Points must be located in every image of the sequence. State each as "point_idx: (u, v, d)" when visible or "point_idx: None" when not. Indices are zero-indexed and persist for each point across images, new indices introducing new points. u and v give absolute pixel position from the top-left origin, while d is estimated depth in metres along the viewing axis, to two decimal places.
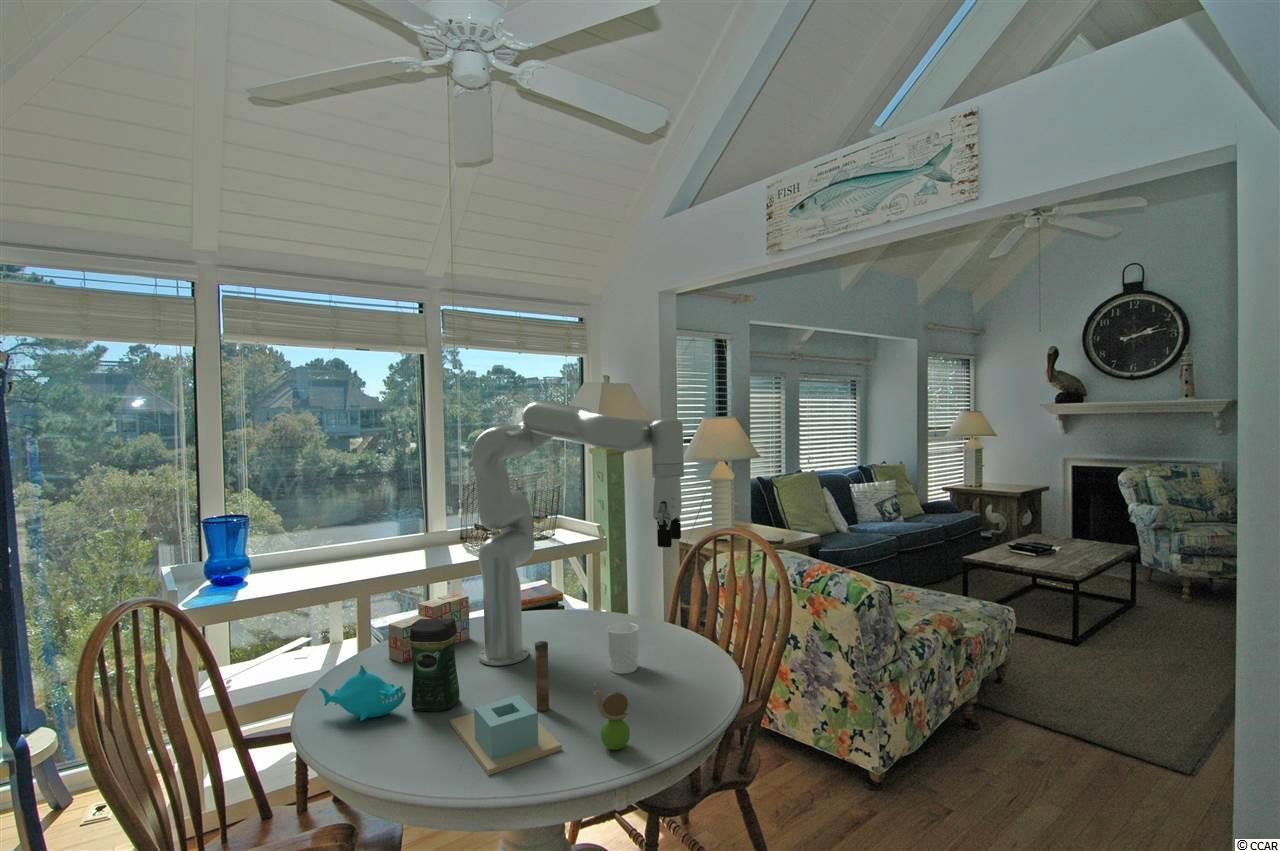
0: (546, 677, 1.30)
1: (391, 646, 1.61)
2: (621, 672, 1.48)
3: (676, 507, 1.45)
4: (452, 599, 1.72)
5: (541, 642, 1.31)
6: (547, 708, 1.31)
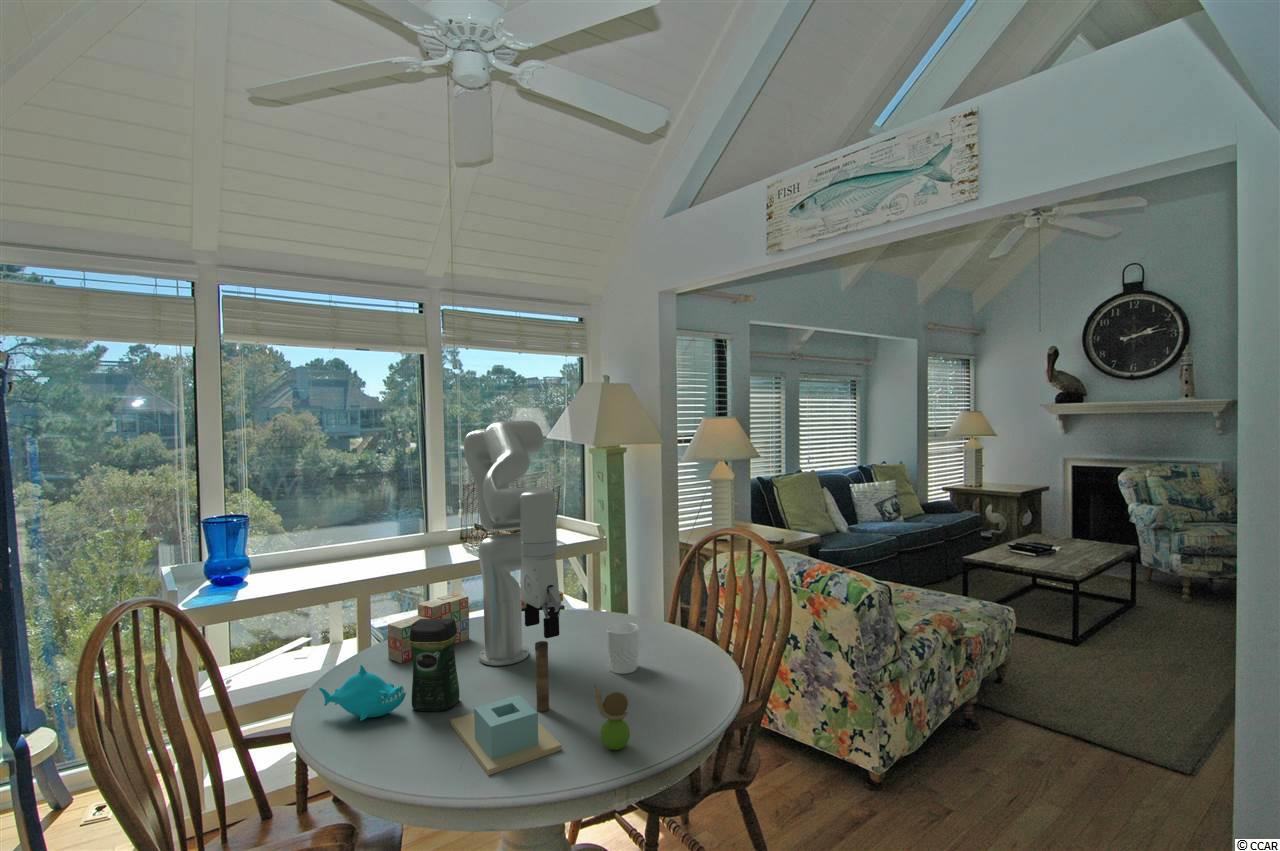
0: (546, 677, 1.30)
1: (390, 646, 1.61)
2: (621, 672, 1.48)
3: None
4: (452, 599, 1.72)
5: (541, 642, 1.31)
6: (547, 708, 1.31)
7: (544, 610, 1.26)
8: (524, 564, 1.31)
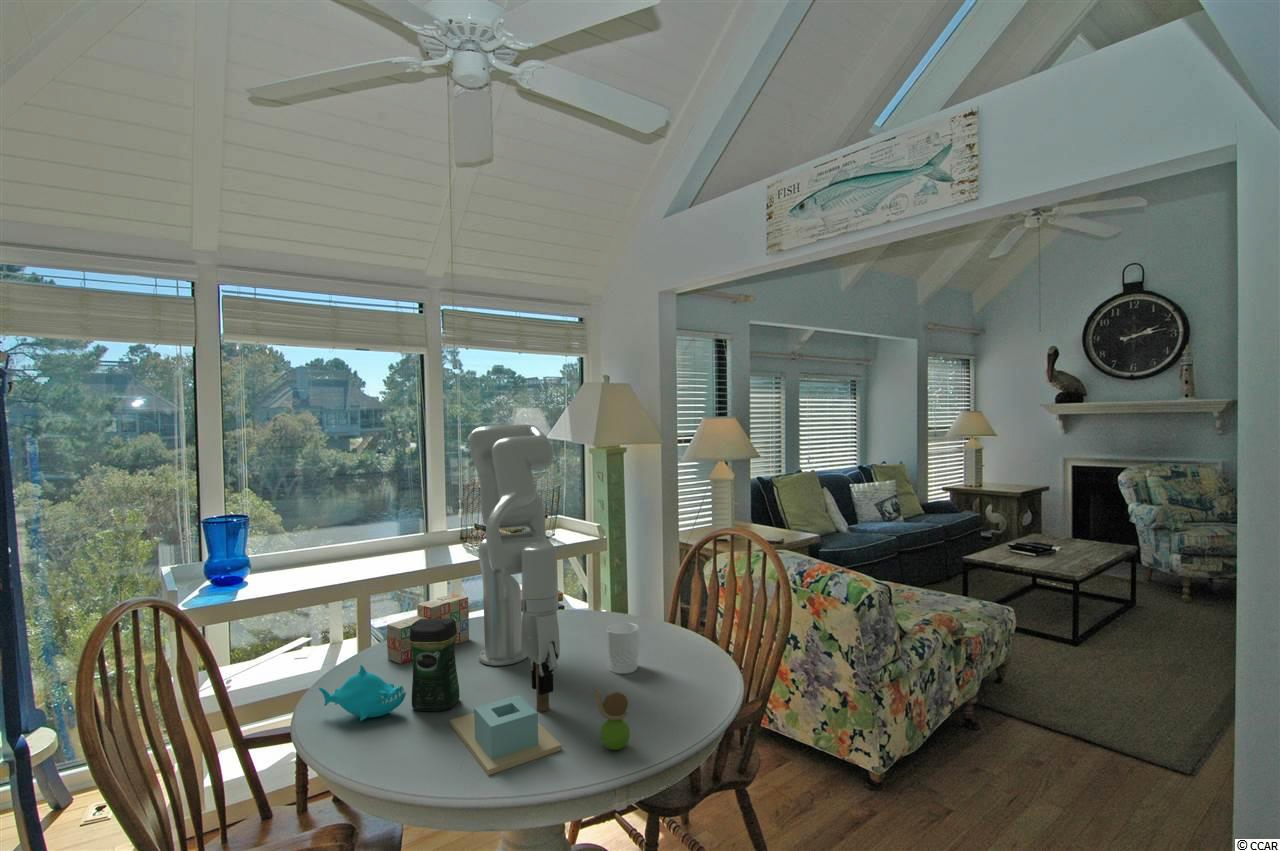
0: None
1: (390, 647, 1.61)
2: (621, 672, 1.48)
3: None
4: (451, 600, 1.72)
5: None
6: (547, 708, 1.31)
7: (540, 667, 1.29)
8: (525, 618, 1.31)
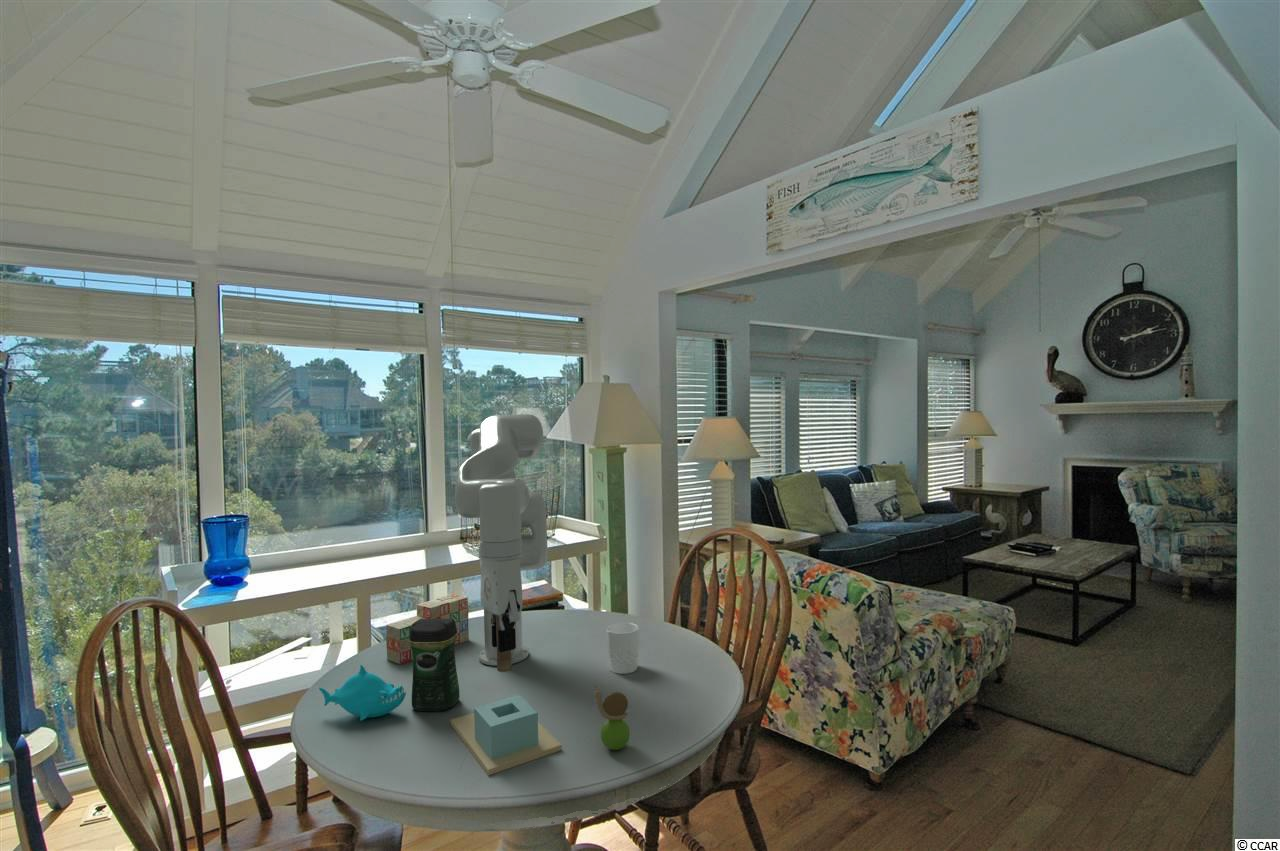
0: None
1: (389, 647, 1.60)
2: (621, 672, 1.48)
3: None
4: (451, 600, 1.71)
5: None
6: (509, 667, 1.15)
7: (500, 620, 1.13)
8: (484, 566, 1.16)
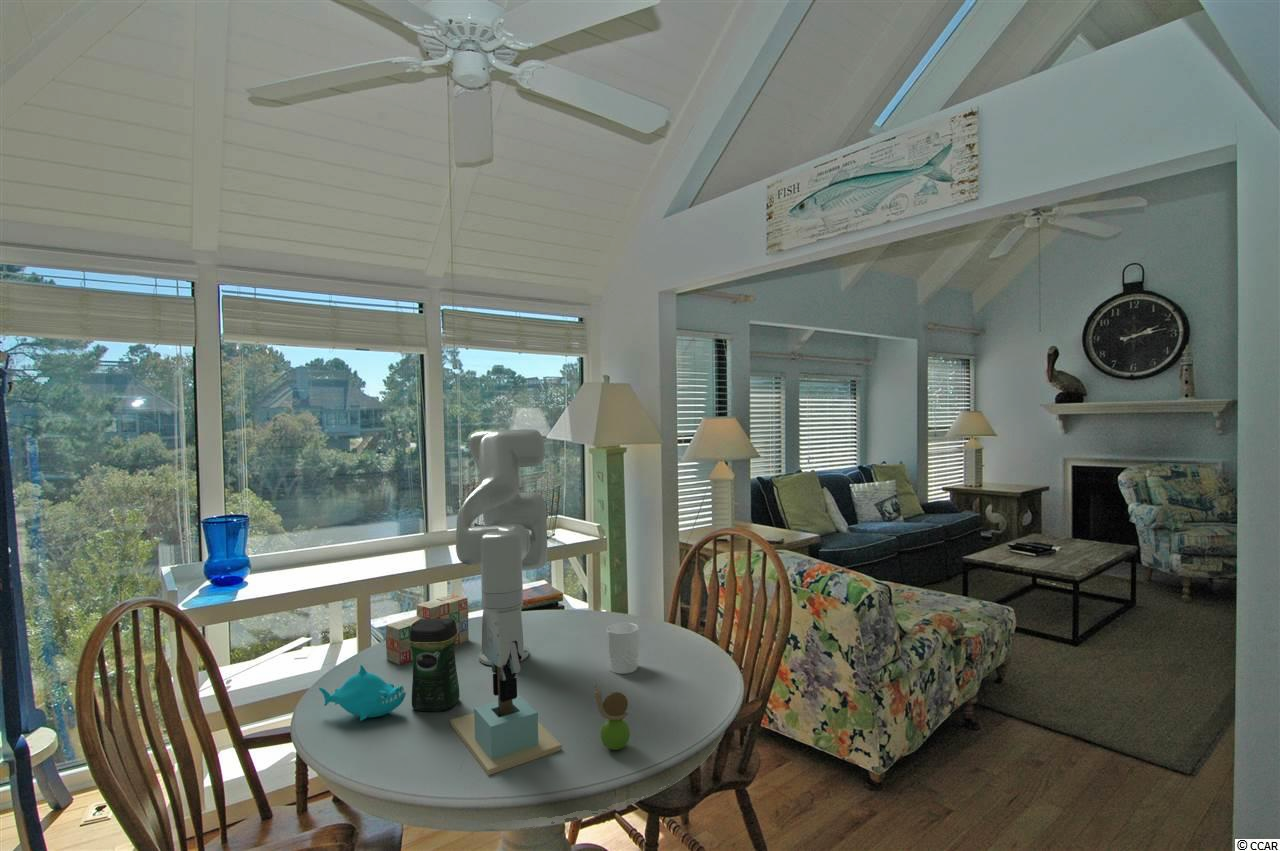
0: None
1: (388, 647, 1.60)
2: (621, 672, 1.48)
3: None
4: (451, 600, 1.71)
5: None
6: None
7: (501, 670, 1.13)
8: (485, 615, 1.16)
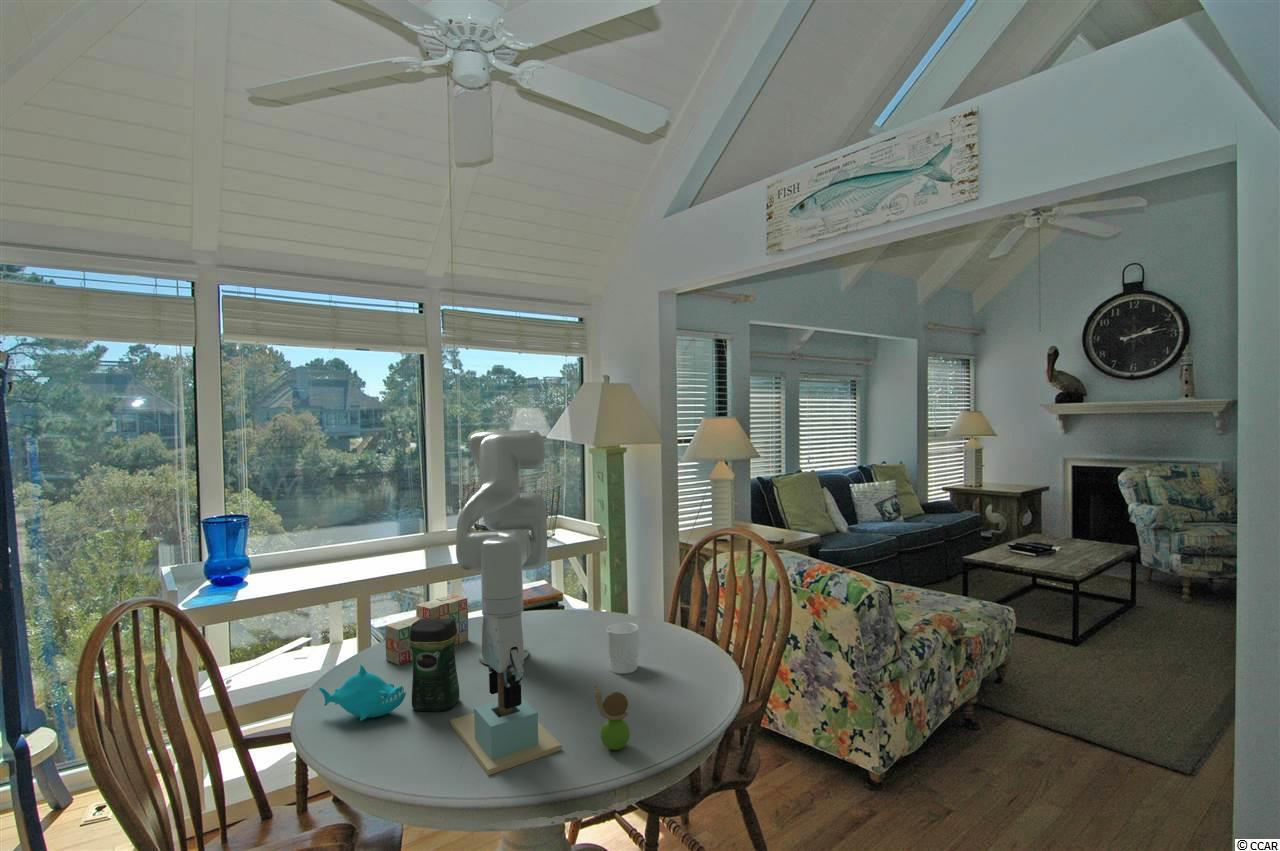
0: None
1: (388, 648, 1.60)
2: (621, 672, 1.48)
3: None
4: (450, 601, 1.71)
5: None
6: None
7: (505, 677, 1.12)
8: (485, 620, 1.16)
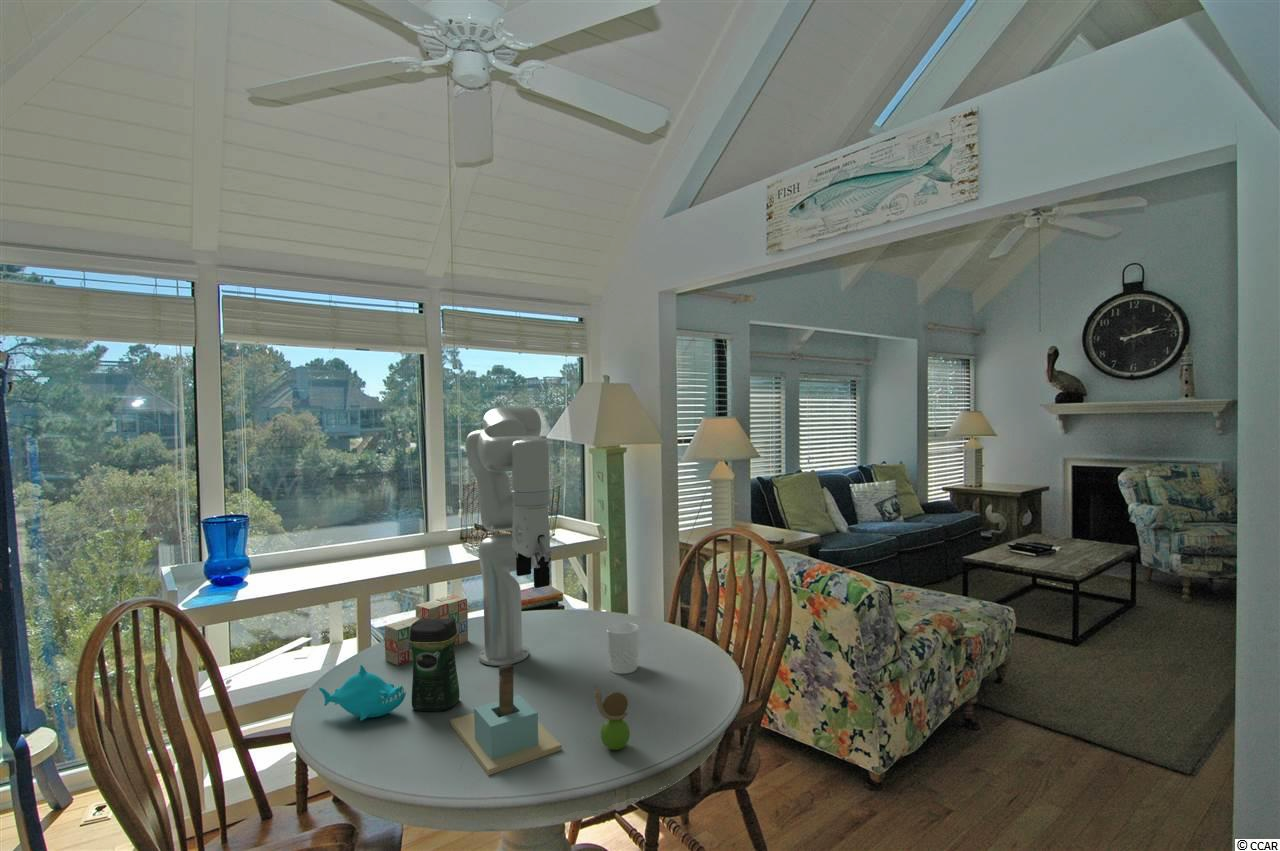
0: (510, 705, 1.16)
1: (387, 648, 1.60)
2: (621, 672, 1.48)
3: None
4: (450, 601, 1.70)
5: (507, 666, 1.16)
6: None
7: (534, 560, 1.24)
8: (515, 513, 1.28)
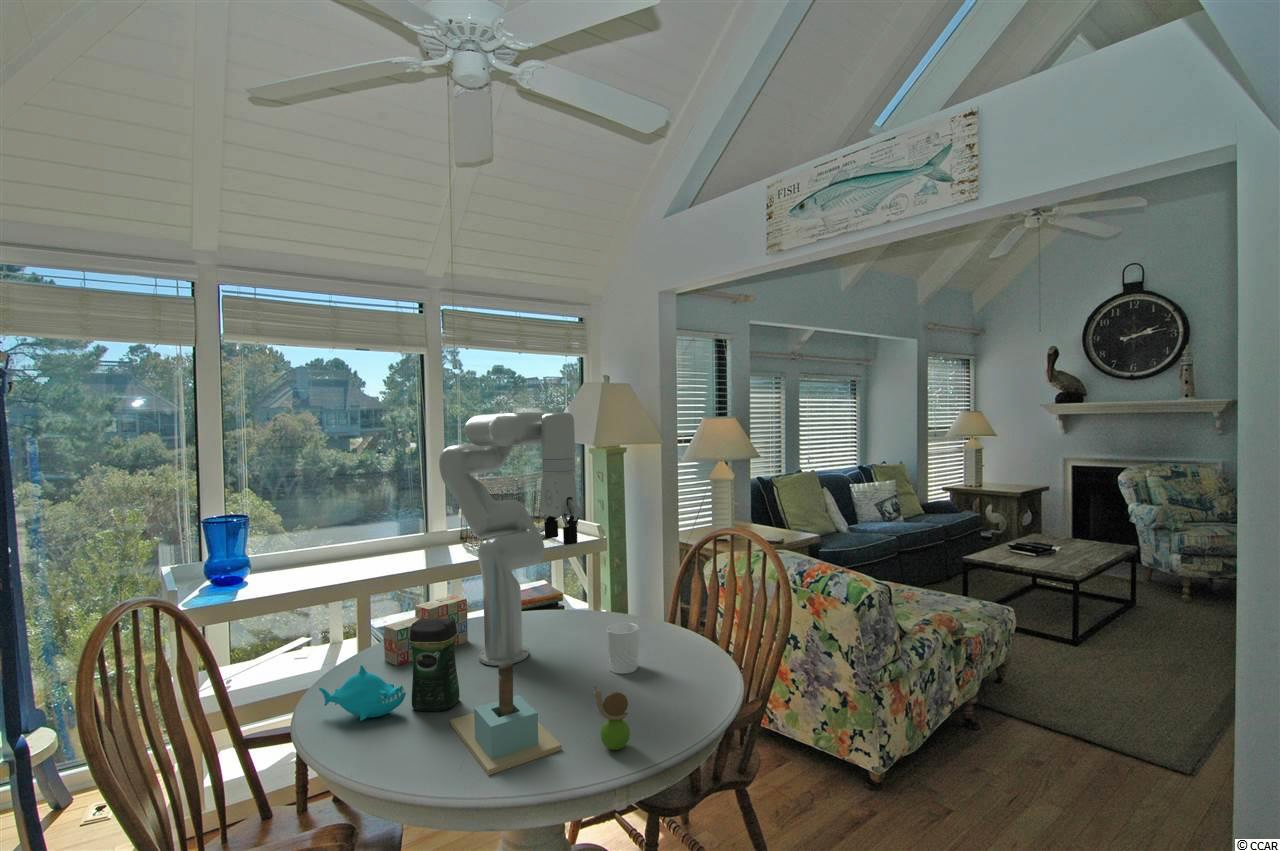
0: (510, 705, 1.16)
1: (386, 648, 1.60)
2: (621, 672, 1.48)
3: None
4: (449, 601, 1.70)
5: (506, 665, 1.17)
6: None
7: (564, 519, 1.38)
8: (545, 480, 1.42)
